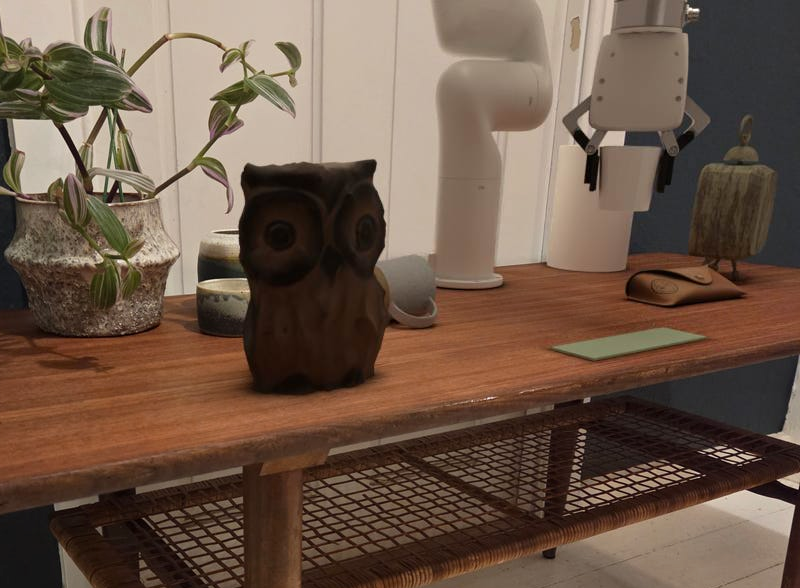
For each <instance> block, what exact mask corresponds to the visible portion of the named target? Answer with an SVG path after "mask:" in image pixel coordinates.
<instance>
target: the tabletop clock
mask: <svg viewBox="0 0 800 588" xmlns="http://www.w3.org/2000/svg"><path fill="white" fill-rule="evenodd" d="M747 121H748V123H749V127H748V129H749V130H748V133H743V132H744V128H745V125H746V124H747ZM753 128H754V118H753V116H752V115H751V114H746V115H745V116H743V118H742V120H741V123H740V128H739V133H738V141H739V145H738V146H734V147H732V148H730V149H729V150H728V151H727V152H726V153H725V155H724V157H723V159H722V160H723V161H726V163H724V162H712V163H709V164H706V165H705V166H704V167H703V168H702V170H701V171H700V174H699V178H698V183H697V186H696V192H695V198H694V202H693V208H692V213H691V221H690V228H689V234H688V244H687V254H688V255H689V256H690V257H698V258H699V257H700V258H704V260H703V262H702V264H701V266H704V265H707V264H709V265H711V266H710V268H711V269H712V270H714V271H716V272H718V270H719V265H718V264H719V263H720V261H721V260H730V262H731V268H732V271H730V273H729V278H730V280H732V281H738V280H739V279H740V278H741V272H740V271H739V270H737V267H738V265H737V263H738V261H740V260H741V261H742V260H745V259H748V258H750V257H753V256H756V255H758V254H759V253H760V252H762V250H763V249H764V248H765V245H766V242H767V238H768V233H769V230H770V229H769V228H770V223H771V219H772V214H773V209H774V203H775V198H776V193H777V186H778V181H779V174H778V172H777V171H775V170H773V169H772V168H770V167H769V166H767V165H764V164H756V163H755V164H754V163H753V164H752V163H744V162H759V161H760V160H759V159H760V158H759V155H758V152H757V151H756V150H755V148H754V147H752V146H748V143H749V141H750V140H751V137H752V133H753ZM727 162H736V163H727Z"/></svg>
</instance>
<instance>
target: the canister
mask: <svg viewBox="0 0 800 588" xmlns="http://www.w3.org/2000/svg"><path fill="white" fill-rule="evenodd" d="M603 146H615V145H609V144H608V145H606V144H600V145H599V147H598V148H597V149H598V156H600V147H603ZM586 158H587V154H586V153H585V151H584V150H583V149H582V148H581V147H580V145H579V144H560V145H559V146H558V157H557V165H556V166H557V167H556V177H555V185H554V193H553V201H552V202H553V204H552V213H551V220H550V222H551V224H550V231H549V239H548V240H549V241H548V249H547V256H546V257H547V259H546V266H548V267H550V268H553V269H559V270H566V271H573V272H574V271H575V272H586V273H587V272H588V273H610V272H612V273H613V272H621V271H625V270H626V267H627V262H628V261H627V260H628V256H629V247H630V239H631V232H632V227H633V219H634V212H635V211H610V210H600V209H598V203H599V168H600V159H599V168H598V177H597V185H596V190H594V192H591V191H589V184H584V176H585V167H586Z"/></svg>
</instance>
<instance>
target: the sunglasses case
mask: <svg viewBox="0 0 800 588" xmlns="http://www.w3.org/2000/svg"><path fill="white" fill-rule="evenodd" d="M710 266H711V265H710V263H709V264H707V265H704V266H702V265H701V266H687V267H675V268H667V269H663V268H649V269H643V270H639V271H637V272H635V273H633V274H631V276H630V277H629V278H628V279H627V281H626V283H625V289H624V292H625V296H626V297H627V299H628V300H632V301H635V302H638V303H642V304H647V305H653V306H663V307H664V306H665V307H666V306H670V307H671V306H677V305H682V304H693V303H705V302H717V301H724V300H730V299H735V298H739V297H742V296H745V295H749V292H747V291H745V290H744V289H743V288H741V287H740V286H738V285H736V284H735V283H733V282H732V281H730V280H729V279H728V278H726V277H725V276H723V275H722V274H720V273H718V271H714V270H712V269H711V268H710Z"/></svg>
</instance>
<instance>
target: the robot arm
mask: <svg viewBox="0 0 800 588" xmlns="http://www.w3.org/2000/svg"><path fill="white" fill-rule="evenodd" d="M429 3H430V9H431V15H432V20H433V27H434V33H435V38H436V42H437V45H438V47H439V49H440V51H441V52H442V53H443V54H445V55H446V56H449V57H453V58H458V59H462V60H458V61H455V62H453V63H451V64H449V65H448V66H447V67H445V68H444V69H443V71H441V73H440V75H439V76H438V78H437V81H436V85H435V91H434V105H435V114H436V122H437V138H438V139H437V141H438V147H437V149H438V153H437V174H436V177H437V178H436V179H437V180H436V191H435V192H436V195H435V211H434V212H435V213H434V227H433V228H434V229H433V244H432V245H433V246H432V250H430V252H428V253H425V255H422V254H421V255H420V254H419V256H421V257H423V258H424V259H425V260H426V261H427V262H428V263H429V265H430V266H431V268H432V270H433V273H434V276H435V280H436V287H439V288H446V289H448V288H449V289H459V290H460V289H461V290H480V289H492V288H497V287H500V286H502V285H503V283H504V282H503V281H504V277H503V276H502V275H501V274H499V273H497V272H496V273H495V272H494V270H495V259H496V258H495V256H496V246H497V245H496V244H497V234H498V223H499V222H498V221H499V211H500V210H499V209H500V198H501V187H502V173H503V160H502V155H501V152H500V149H499V147H498V144H497V142H496V140H495V138H494V135H493V133H494V132H511V133H512V132H514V133H517V132H518V133H519V132H530V131H533V130H536V129H537V128H539V127H541V126H542V125H543V124H544V123H545V121H546V120H547V118H548V117H549V115H550V112H551V109H552V105H553V98H554V88H553V86H554V85H553V78H552V77H553V76H552V68H551V62H550V56H549V50H548V49H549V48H548V44H547V36H546V30H545V24H544V19H543V14H542V10H541V8H540V6H539V4H538V2H537V1H536V0H429ZM699 16H700V8H699V7H696V8H695V7H692V6H690V4H688V0H613V7H612V14H611V23H610V32H609V34H606V35H604V36H603V37H602V39H601V43H600V45H599V49H598V53H597V59H596V62H595V68H594V72H593V79H592V86H591V92H590V95H589V96H588V97H586V98H585V99H584V100H582V101H581V102H580V103H579V104H578V105H576V106H575V107H573V108H572V109H571V110H570V111H569V112H568V113H567V114H566V115H564V116H563V117H562V119H561V123H562V124H563V126H564V127H565V129H566V130H567V132H568V133H569V134H570V136H571V137H572V139H573V140H574V141H575V142H576V143H577V145H580V147H581V148H582V149H583V150H584V151H585V153H586V154H587V158H586V167H585V176H584V184H589V191H591V192H594V190H596V185H597V177H598V168H599V159H600V156H598V149H597V148H598V147H599V145H601V144H602V142H603V140H604V139H605V137H606V135H607V134H608V132H657V133H658V136H659V138H660V141H661V144H662V148H663V149H662V153H661V157H660V162H659V166H658V171H657V175H656V179H655V187H654V190H655V192H656V193H658V194H665V188H666V186H671V184H672V179H673V172H674V164H675V159H676V156H677V155H678V154H679V153H680V152H681V151H682V150H684V149H685V148H686V147H687V146H688V145H689V144H690V143H691V142H692V141H693V140H694V139H695V138H696V137H697V136H698V135H700V133H701V132H702V131H704V129H705V128H706V127H708V125H709V124H710V123H711V117H710V116H709V115H708V114H707V113H706V112H705V111H704V110H703V109H702V108H701V107H700V106H699V105H698V104H697V102H695V101H694V100H693V99H692V98H691V97H690V96H689V95H688V94H687V90H688V77H689V34H688V33H686V32H683V28H684V27H685V26H686V25H687V24H691V23H697V22H698V20H699ZM587 113H588V119H587V120H588V125H589V126H590V127H591V129H594V132H593V133H592V135H591V137H590V138H589V137H588V135H586V133H585V132H584V131H583V130H582V128H581V127H580V125H579V124H578V120H579V119H581V117H583V116H584V115H585V114H587ZM684 114H686V115H687V116H688V117H689V118H690V119H691V120H692V122H691V124H690V126H689V127H687V129H686V130H685V131H683V132H682V133H681V134H680V135H679V136H678V137H676V136H675V133H674V130H675V129H677V128H679V127H680V126H681V124H682V122H683V119H684ZM407 255H412V253H405V255H404V256H407Z"/></svg>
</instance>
